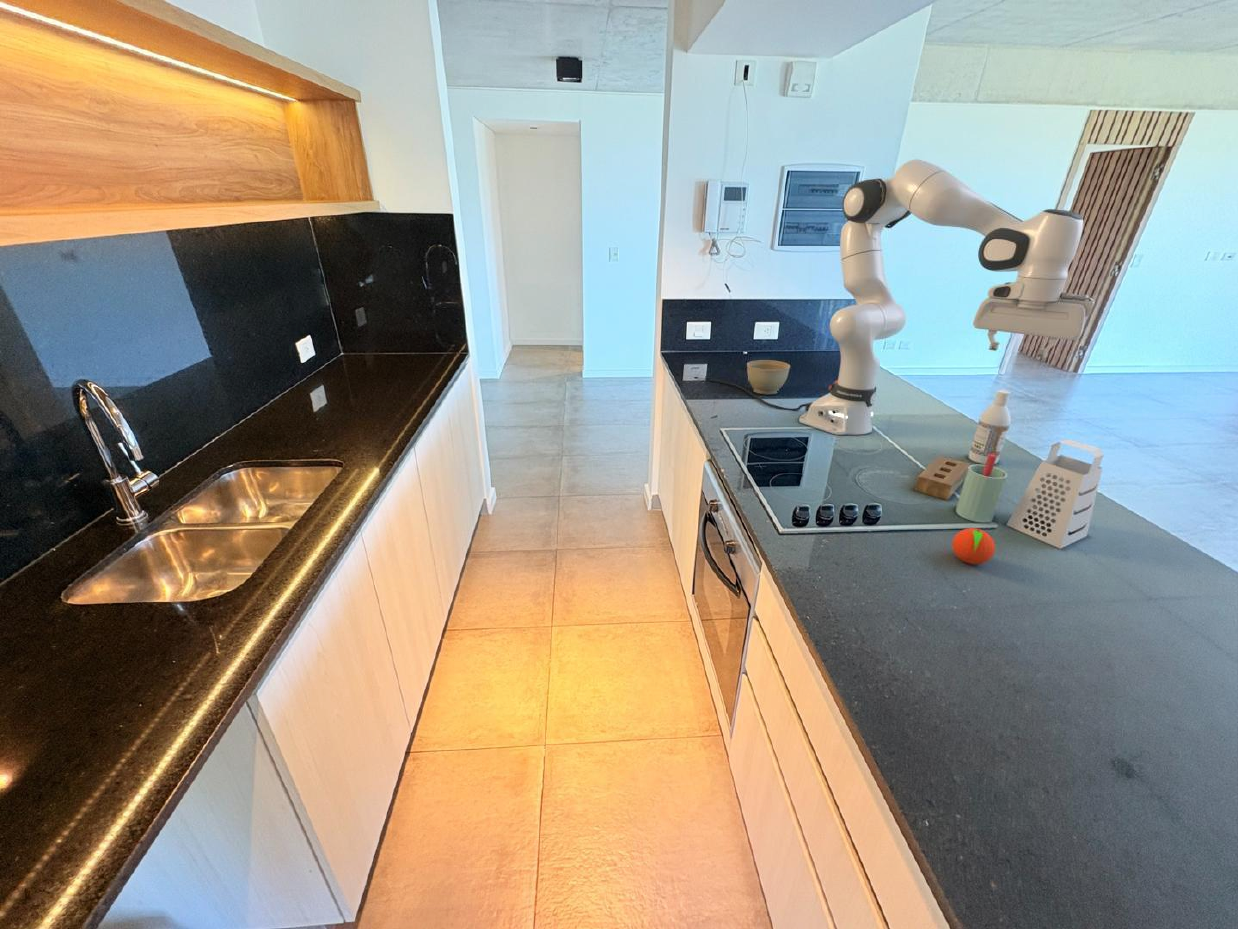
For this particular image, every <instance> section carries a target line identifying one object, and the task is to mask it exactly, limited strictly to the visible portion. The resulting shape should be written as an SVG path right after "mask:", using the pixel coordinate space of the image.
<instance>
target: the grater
mask: <svg viewBox="0 0 1238 929" xmlns="http://www.w3.org/2000/svg"><path fill="white" fill-rule="evenodd" d="M1062 444H1063V445H1066V446H1070V447H1074V448H1077V449H1080V450H1083V451H1087V452H1090V453H1091V456H1093V461H1092V464H1091V463H1088V462H1085V461H1082V460H1080V459H1079V460H1078V459H1076V458H1073V457H1069V456H1066V455H1063V454H1059V455H1058V453H1059V451H1060V448H1061V446H1062ZM1104 455H1105V454H1104V452H1103V451H1102V449H1101V448H1100V447H1098V446H1094V445H1090V444H1088V443H1083V442H1079V441H1076V440H1073V439H1070V438H1067V439H1065V440H1061V441H1058V442H1057V443H1054V444H1052V445H1051V448H1050V450H1049V453H1048V455H1047V458H1046V459H1045V460H1042V461H1041V462H1040V464H1039V466H1038V467H1037V470H1036V471H1035V473H1034V475H1033V477H1032V478H1031V480H1030V482H1029V484H1028V485H1027V487H1026V489H1025V491H1024V492H1023V495H1022V497H1021V498H1020V500H1019V502H1018V503H1017V505H1016V507H1015V509H1014V511H1013V512H1012V514H1011V516H1010V517H1009V520H1008V521H1007V523H1006V526H1008V527H1010V528H1012V529H1014V530H1016V531H1019V532H1022V533H1023V534H1025V535H1027V536H1030V537H1032V538H1035V539H1037V540H1039V541H1042V542H1043V543H1046V544H1048V545H1050V546H1053V547H1055V548H1058V549H1064V548H1065V547H1067V546H1070V545H1071V544H1073V543H1075V542H1078V541H1079V540H1081V539H1083V538H1086V537H1087V536H1088V532H1089V528H1090V524H1091V519H1092V516H1093V511H1094V506H1095V502H1096V498H1097V494H1098V488H1099V485H1100V480H1101V475H1102V470H1103V467H1102V466H1100V465H1101V462H1102V461H1103V458H1104ZM1038 490H1039V491H1038ZM1029 516H1031V517H1032V518H1029ZM1024 519H1026V520H1027V521H1024ZM1035 519H1037V520H1038V521H1035ZM1042 521H1043V522H1044V523H1041V522H1042ZM1030 522H1032V524H1030ZM1036 524H1038V527H1037V526H1036ZM1047 524H1050V526H1047ZM1025 526H1028V528H1026V527H1025ZM1042 527H1044V528H1045V529H1042ZM1031 528H1033V529H1034V530H1031ZM1048 529H1049V530H1051V531H1048ZM1037 531H1039V532H1040V533H1037ZM1073 532H1074V533H1073ZM1043 533H1044V534H1046V536H1044V535H1043ZM1069 533H1072V534H1069Z"/></svg>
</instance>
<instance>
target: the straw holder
mask: <svg viewBox="0 0 1238 929" xmlns="http://www.w3.org/2000/svg"><path fill="white" fill-rule="evenodd" d="M971 465H972V464H971V463H969V462H966V461H962V460H957V459H953V458H949V457H946V456H942V455H938V457H936V459H934V460H933V461H932V462H931V463H930V464H929V465H928V466H927V467H926V468H925V469H924V470H923V471H922V472H921V473H920V474H919V475H918V476H917V480H916V484H915V487H914V491H916V492H919V493H922V494H926V495H930V496H932V497H935V498H939V499H942V500H945V501H948V500H949V499H950V498H951V497H952V496H953V495H954V493H955V492H956V491H957V489H958V488H959V487H960V486H961V485H963V483H964V481H965V477H966V474H967V471H968V467H969V466H971Z"/></svg>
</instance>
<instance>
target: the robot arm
mask: <svg viewBox="0 0 1238 929" xmlns="http://www.w3.org/2000/svg"><path fill="white" fill-rule="evenodd" d="M841 202H842V203H841V211H842V214H843V217H845V219H846V220H847V222H845V223H844V225H843V226H842V228H841V231H840V243H839V244H840V245H839V246H840V247H839V250H840V252H839V253H840V264H841V273H842V274H841V275H842V281H843V282H842V283H843V287H844V290H846V291H847V292H848V293H849V294H850V295H851V296H852V297H853V299H854V301H855V303H856V304H851V305H848V306H845V307H842V308H840V309H838V310H836V311H835V313H834V314H833V315H832V317H831V319H830V321H829V322H830V323H829V331H830V334H831V336H832V338H833V339H834V340H835V341H836V343H837V344H838V348H839V354H840V364H839V372H838V378H837V380H835V381H834V382H833V383H831V384H830V385H829V386H828V387H829V388H828V390H829V393H826V394H825V395H823V396H821V397H819V398H817V399H815V400H814V401H810V402H807V403H803V404H800V405H799V406H798V407H795V408H787V407H783V406H780V405H776V404H772V403H769V402H768V401H765V400H764V399H762V398H760V397H759V396H757V395H755V394H754V393H753V394H752V392H751V391H749V390H748V389H747V388H745V387H743V386H740V385H738V384H735V383H732V382H728V381H724V380H719V381H718V379H713V378H710V379H707V378H708V377H707V378H704V379H705V380H708V381H710V382H714V383H720V384H725V385H729V386H733V387H736V388H738V389H740V390H742V391H744V392H746V393H747V394H749V395H750V396H752V397H753V398H754V399H756V400H757V401H759V402H761V403H763V404H765V405H767V406H769V407H772V408H776V409H779V410H783V411H791V412H793V411H794V412H796V411H800V410H801V409H802V408H803V407H804V408H805V409H804V411H805V413H803V414H801V415H800V416H799V420H798V421H799V423H801V424H804V425H807V426H810V427H812V428H815V429H818V430H822V431H824V432H827V433H829V434H833V435H835V436H836V435H837V436H844V435H854V436H855V435H856V436H857V435H858V436H860V435H866V434H867V435H868V434H869V433H871V432H872V431H873V427H872V426H873V425H872V424H873V423H872V417H873V416H874V412H873V406H874V403H875V399H876V395H877V393H876V392H877V380H878V375H879V370H880V365H881V364H880V360H879V358H878V357H877V356H875V354H874V347H873V346H874V341H878V340H884V339H888V338H891V337H893V336H894V335H897V334H899V333H900V332H901V331H902V330H903V329H904V328H905V325H906V321H907V315H906V311H905V309H904V308H903V307H902V306H901V305H900V304H899V303H898V302H897V301H896V300H895V298H894V297H893V294H892V292H891V290H890V288H889V285H888V282H887V279H886V275H885V274H886V273H885V267H884V266H885V265H884V259H883V250H882V241H881V240H882V239H881V238H882V237H881V235H882V232H883V230H884V229H892V228H893V227H895V226H896V225H897V224H898V223H900V222H901V221H903V220H905V219H906V218H908V217H909V216H910V215H913V216H914V217H916V218H917V219H919V220H921V221H923V222H925V223H926V224H930V225H932V226H938V227H952V228H960V229H966V230H971V231H974V232H976V233H979V234H980V235H982V236H983V237H984V238H983V239H982V241H981V242H980V245H979V248H978V253H977V257H978V261H979V264H980V266H981V267H982V268H984V269H985V270H987V271H990V272H995V273H1003V272H1004V273H1005V272H1009V273H1010V272H1017V276H1016V279H1015V281H1012V282H1011V281H1008V282H1005V283H1002V284H997V285H993V286H991V287H990V288H989V289H988V291H987V296H988V297H987V298H985V299H983V300H982V302H981V303H980V305H979V306H978V307H977V311H976V313H975V316H974V318H973V321H972V326H973V327H974V329H979V330H985V331H987V330H988V331H987V338H988V340H989V343H990V344H989V347H988V350H989V351H995V352H996V351H998V349H999V346H1000V341H997V340H996V337H995V335H997V334H998V332H1002V333H1012V334H1019V335H1027V336H1034V337H1035V336H1036V337H1043V338H1049V339H1048V343H1049V345H1047V346H1046V347H1045V348H1043V347H1040V348H1038V353H1037V356H1036V357H1037V358H1042V359H1043V358H1044V359H1045V358H1046V357H1047V355H1048V352H1049V351H1050V349H1051V348H1053V347H1054V346H1055V345H1056V344H1057V343H1058V342H1059V340H1067V341H1075V340H1077V339H1079V338H1080V337H1081V336H1082V334H1083V331H1084V328H1085V323H1086V319H1087V317H1088V316H1090V315H1091V314H1092V312H1093V310H1094V307H1095V301H1094V299H1093V298H1091V297H1089V295H1086V294H1074V293H1065V292H1064V290H1065V286H1066V283H1067V280H1068V277H1069V268H1070V265H1071V263H1072V262H1073V261H1074V259H1075V257H1076V255H1077V251H1078V248H1079V245H1080V242H1081V239H1082V234H1083V229H1084V217H1083V216H1082V215H1081V214H1079V213H1078V212H1076V211H1072V210H1065V209H1056V208H1048V209H1047V208H1046V209H1044V210H1042V211H1040V212H1039V213H1037V214H1036V215H1034V216H1032V217H1030V218H1028V219H1025V220H1022V219H1021V218H1019V217H1017V216H1015V215H1013V214H1011V212H1008V211H1006V210H1005V209H1003V208H1001V207H999V206H997V205H995V204H994V203H992V202H990V201H989V200H987V199H986V198H984V197H983V196H981V195H980V194H979V193H977V192H976V191H974V190H972V188H970V187H969V186H967V185H966V184H965V183H964V182H963V181H961V180H959V179H958V178H956V177H955V175H953V174H951V173H950V172H948V171H946V170H945V169H943V168H941V167H940V166H938V165H936V164H934V163H931V162H929V161H927V160H922V159H911V160H908V161H907V162H905V163H903V164H902V165H901V166H900V167H898V169H897V170H896V171H895V173H894V174H893V176H892V177H891V178H879V177H878V178H872V179H865V180H860V181H858V182H856V183H854V184H852V185H851V186H850V187H849V188H847V189H846V191H845V193H844V196H843V198H842V201H841ZM697 378H698V377H695V376H694V378H693V379H697ZM723 381H724V382H723ZM742 387H743V388H742ZM744 388H745V389H744ZM747 390H748V391H747Z"/></svg>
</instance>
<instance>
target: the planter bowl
mask: <svg viewBox="0 0 1238 929" xmlns="http://www.w3.org/2000/svg"><path fill="white" fill-rule="evenodd" d="M746 367H747V368H746V372H747V379H748V381H749V383H750V385H751V387H752V391H753V392H754V393H756V394H759V395H776V394H778V393H779V391H780V389H781V388H782V387H783V385H785V383H786V381H787V379H788V377H789V372H790V370H791V365H790V364H789V363H787V362H784V361H779V360H772V359H771V360H769V359H768V360H767V359H760V360H759V359H758V360H751V361H749V362H747V363H746ZM753 389H754V390H753ZM777 391H778V392H777Z"/></svg>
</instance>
